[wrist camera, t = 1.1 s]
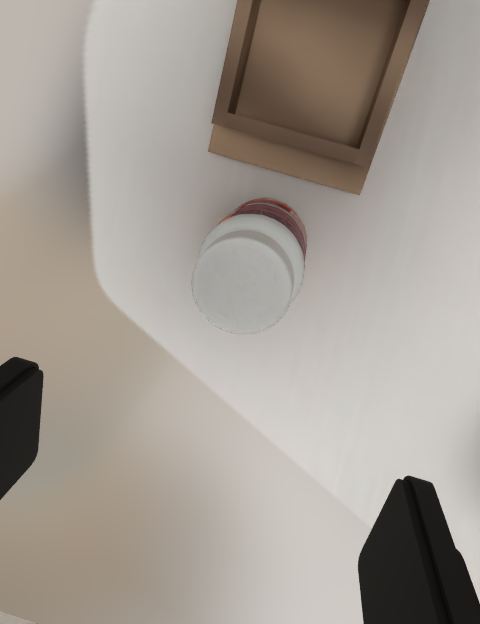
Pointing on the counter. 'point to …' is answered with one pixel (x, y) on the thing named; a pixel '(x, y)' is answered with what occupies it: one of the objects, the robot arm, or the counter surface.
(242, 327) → the pill bottle
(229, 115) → the caddy
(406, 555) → the robot arm
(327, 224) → the counter surface
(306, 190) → the counter surface
